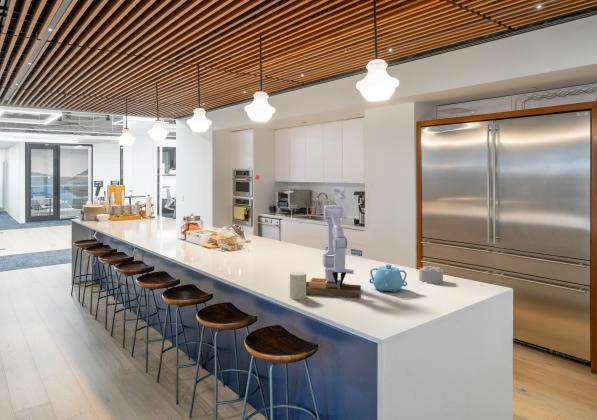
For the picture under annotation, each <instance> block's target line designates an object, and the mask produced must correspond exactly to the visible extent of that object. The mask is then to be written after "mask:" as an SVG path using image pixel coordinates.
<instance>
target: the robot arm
mask: <svg viewBox="0 0 597 420" xmlns="http://www.w3.org/2000/svg"><path fill="white" fill-rule="evenodd" d="M342 216H343V206H342V205H341V204H340V205H336V204H335V205H334V204H333V205H324V206H323V220H324V221H326V224H327V250H326V251H325V252H324V253H323V255H322V266H323V268H325V269H324V273H325V274H324V276H325V277H324V279H329V281H335V283H336V285H337V282H338V280H339V274H340V280H341V282H340V287H342V284H344V279H345V277H346V275H347V274H350V275H354V272H355V271H354V269H350V268H346V249H347V248H348V239H347V237H346V236H345V231H344V229H343V226H341V218H342Z"/></svg>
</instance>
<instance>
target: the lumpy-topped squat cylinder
mask: <svg viewBox="0 0 597 420" xmlns="http://www.w3.org/2000/svg"><path fill="white" fill-rule="evenodd" d="M418 274H419V275H418V276H419V277H418V281H419V280H420V281H422V282H421V283H424V282H427V283H426V284H430V283H444V270H443V268H441V267H439V266H434V265H429V266H428V265H425V266H422V267H419V273H418ZM420 281H419V282H420Z"/></svg>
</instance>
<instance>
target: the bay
mask: <svg viewBox="0 0 597 420" xmlns="http://www.w3.org/2000/svg"><path fill="white" fill-rule="evenodd" d="M333 285H336V284H333ZM361 291H362V286H361V284H346V283H342V287H340V290H337V287H329V288H328V289H323V288H309V281H306V296H308V295H309V296H321V297H336V298H350V299H360V297H361Z"/></svg>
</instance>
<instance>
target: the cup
mask: <svg viewBox="0 0 597 420" xmlns="http://www.w3.org/2000/svg"><path fill="white" fill-rule="evenodd" d="M306 282H307V272H305V271H292V272H289V298H290V299H291V300H296V299H300V300H304V298H305V299H306V298H307V297H306V296H307V295H306Z"/></svg>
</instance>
